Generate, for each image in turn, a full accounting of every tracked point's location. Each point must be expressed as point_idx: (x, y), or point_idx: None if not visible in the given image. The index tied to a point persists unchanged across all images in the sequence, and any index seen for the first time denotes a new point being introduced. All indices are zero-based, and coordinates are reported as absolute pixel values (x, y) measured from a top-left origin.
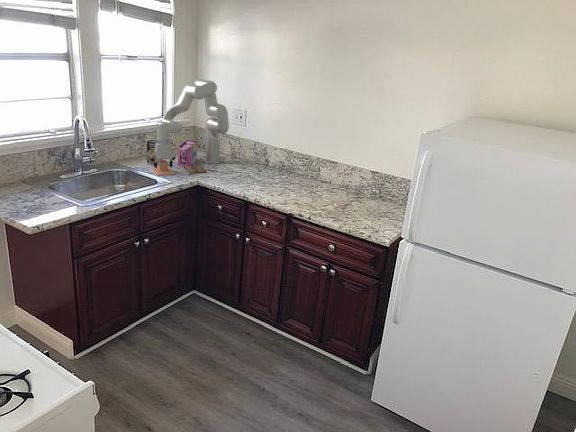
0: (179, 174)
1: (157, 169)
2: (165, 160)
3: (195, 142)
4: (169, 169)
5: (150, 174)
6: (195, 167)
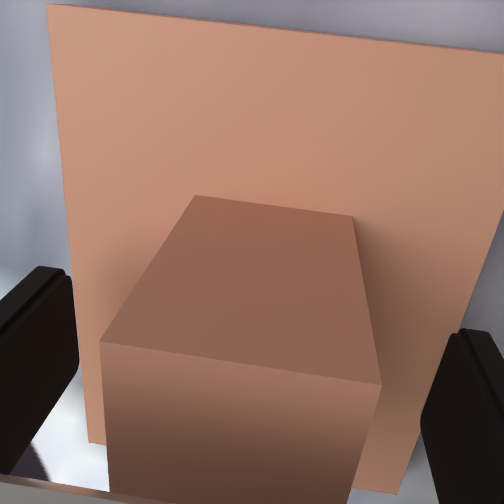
0: None
1: (148, 213)
2: (350, 453)
3: None
4: (419, 299)
5: None
6: None
